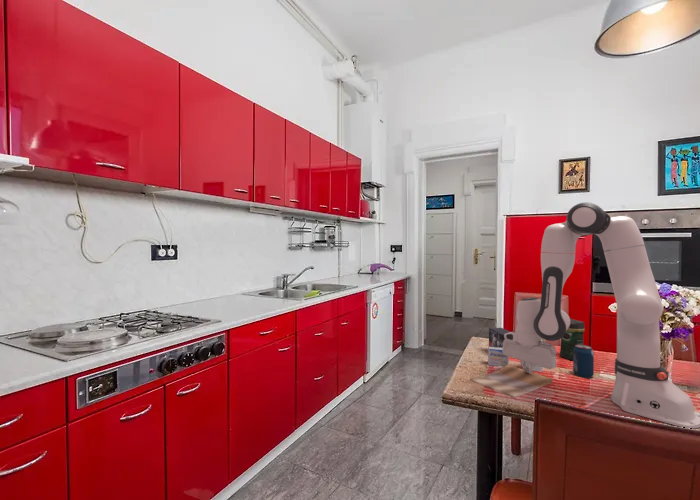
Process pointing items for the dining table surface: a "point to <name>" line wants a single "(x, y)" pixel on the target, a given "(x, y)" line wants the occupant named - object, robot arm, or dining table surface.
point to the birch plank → (498, 386)
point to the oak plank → (525, 376)
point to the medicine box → (497, 357)
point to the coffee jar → (572, 338)
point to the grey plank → (512, 382)
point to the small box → (496, 337)
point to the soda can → (583, 361)
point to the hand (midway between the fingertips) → (527, 372)
